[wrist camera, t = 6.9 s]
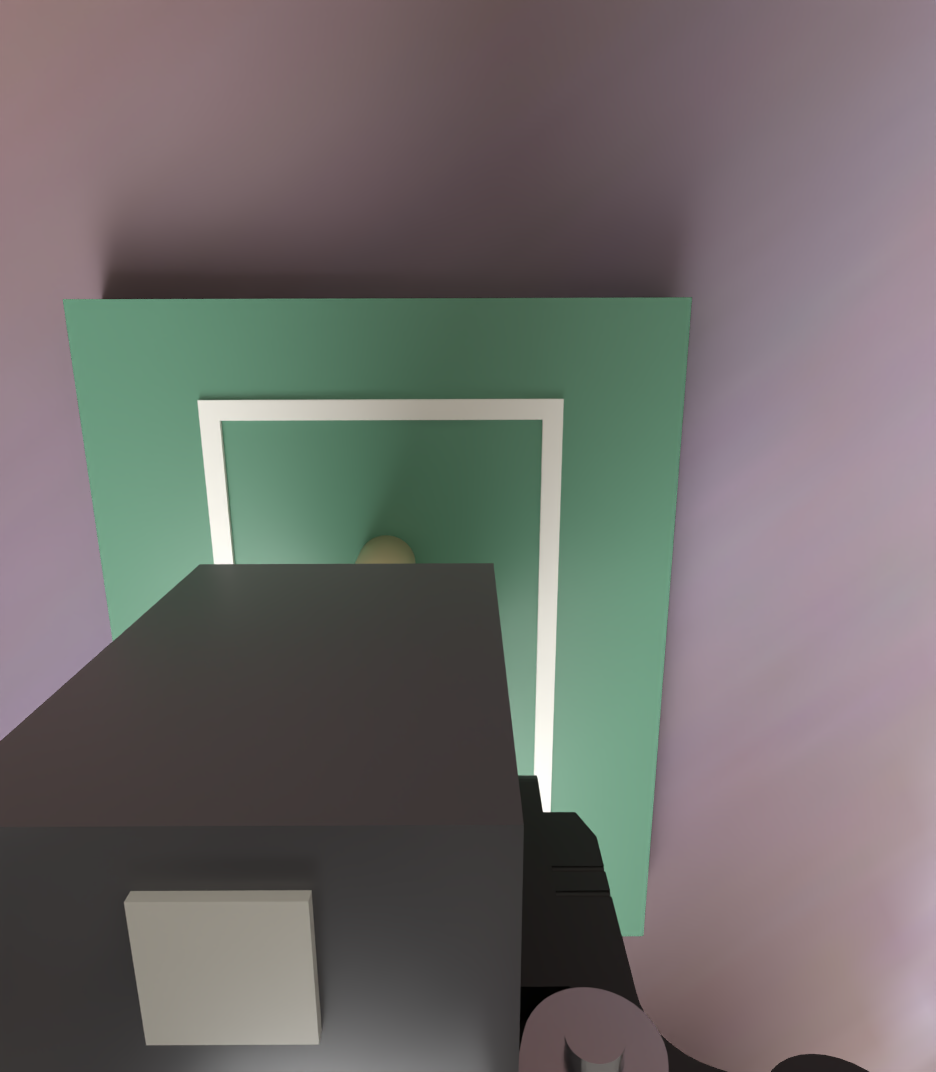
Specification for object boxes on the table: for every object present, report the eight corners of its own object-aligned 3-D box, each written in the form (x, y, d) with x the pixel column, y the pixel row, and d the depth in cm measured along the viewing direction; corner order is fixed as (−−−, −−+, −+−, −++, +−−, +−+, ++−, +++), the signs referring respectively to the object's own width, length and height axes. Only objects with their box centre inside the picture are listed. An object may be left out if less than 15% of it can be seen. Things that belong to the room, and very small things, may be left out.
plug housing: (199, 564, 10) (-109, 836, 5) (493, 563, 10) (525, 835, 5) (249, 1033, 12) (80, 1585, 7) (490, 1032, 12) (509, 1583, 7)
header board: (100, 301, 16) (-64, 291, 11) (670, 299, 16) (763, 288, 11) (179, 893, 20) (86, 1077, 15) (630, 891, 20) (683, 1074, 15)
